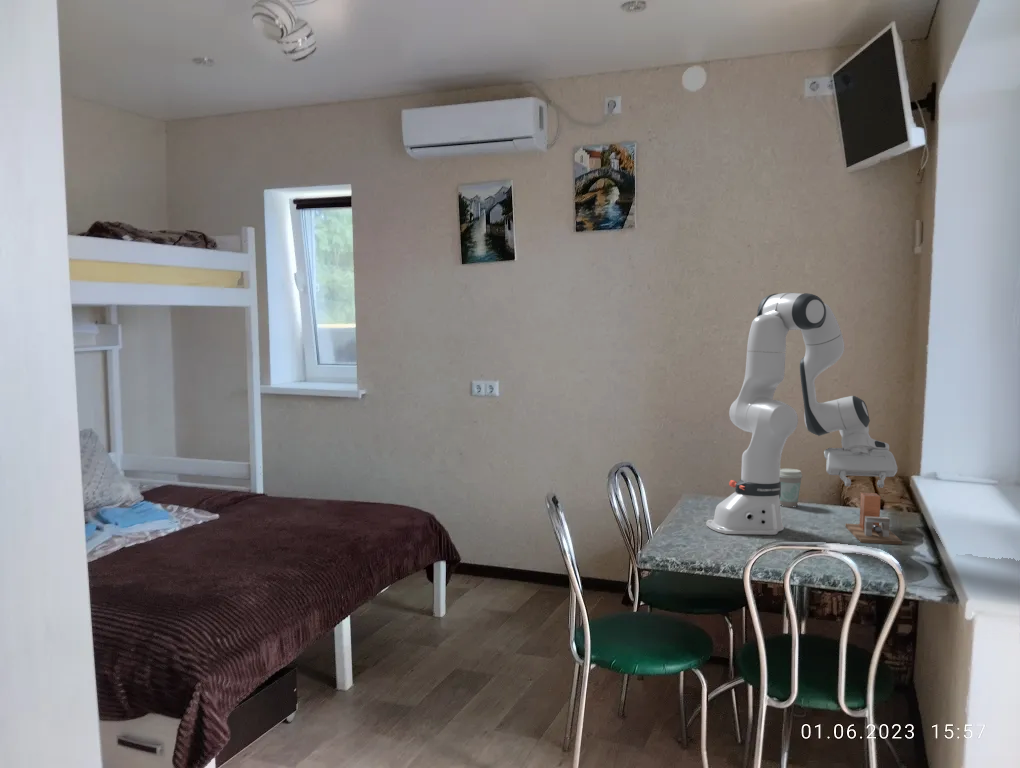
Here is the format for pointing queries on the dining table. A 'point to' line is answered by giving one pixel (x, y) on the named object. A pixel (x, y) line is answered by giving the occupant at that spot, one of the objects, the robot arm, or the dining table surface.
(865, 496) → the orange brown upright block
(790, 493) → the coffee cup
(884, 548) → the dining table surface
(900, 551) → the dining table surface
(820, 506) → the dining table surface
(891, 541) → the eye board
